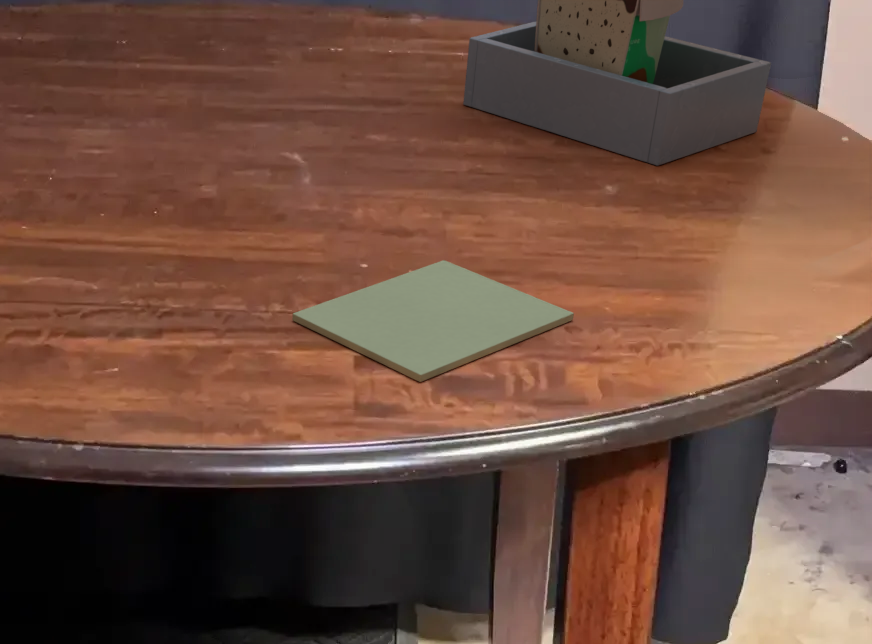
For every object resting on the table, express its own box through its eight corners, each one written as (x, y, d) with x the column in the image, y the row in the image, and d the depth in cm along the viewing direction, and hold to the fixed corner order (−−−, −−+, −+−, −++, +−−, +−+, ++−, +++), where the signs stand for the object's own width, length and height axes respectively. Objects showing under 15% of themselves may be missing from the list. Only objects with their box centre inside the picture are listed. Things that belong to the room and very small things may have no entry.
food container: (699, 139, 99) (730, -23, 93) (620, 150, 97) (646, -14, 91) (593, 88, 108) (615, -63, 103) (519, 98, 107) (537, -55, 101)
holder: (757, 132, 100) (771, 62, 98) (657, 166, 95) (670, 93, 92) (562, 76, 111) (570, 12, 108) (462, 104, 105) (469, 37, 103)
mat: (573, 320, 76) (574, 312, 76) (420, 382, 71) (420, 374, 70) (443, 266, 82) (443, 259, 82) (292, 320, 76) (292, 313, 76)
